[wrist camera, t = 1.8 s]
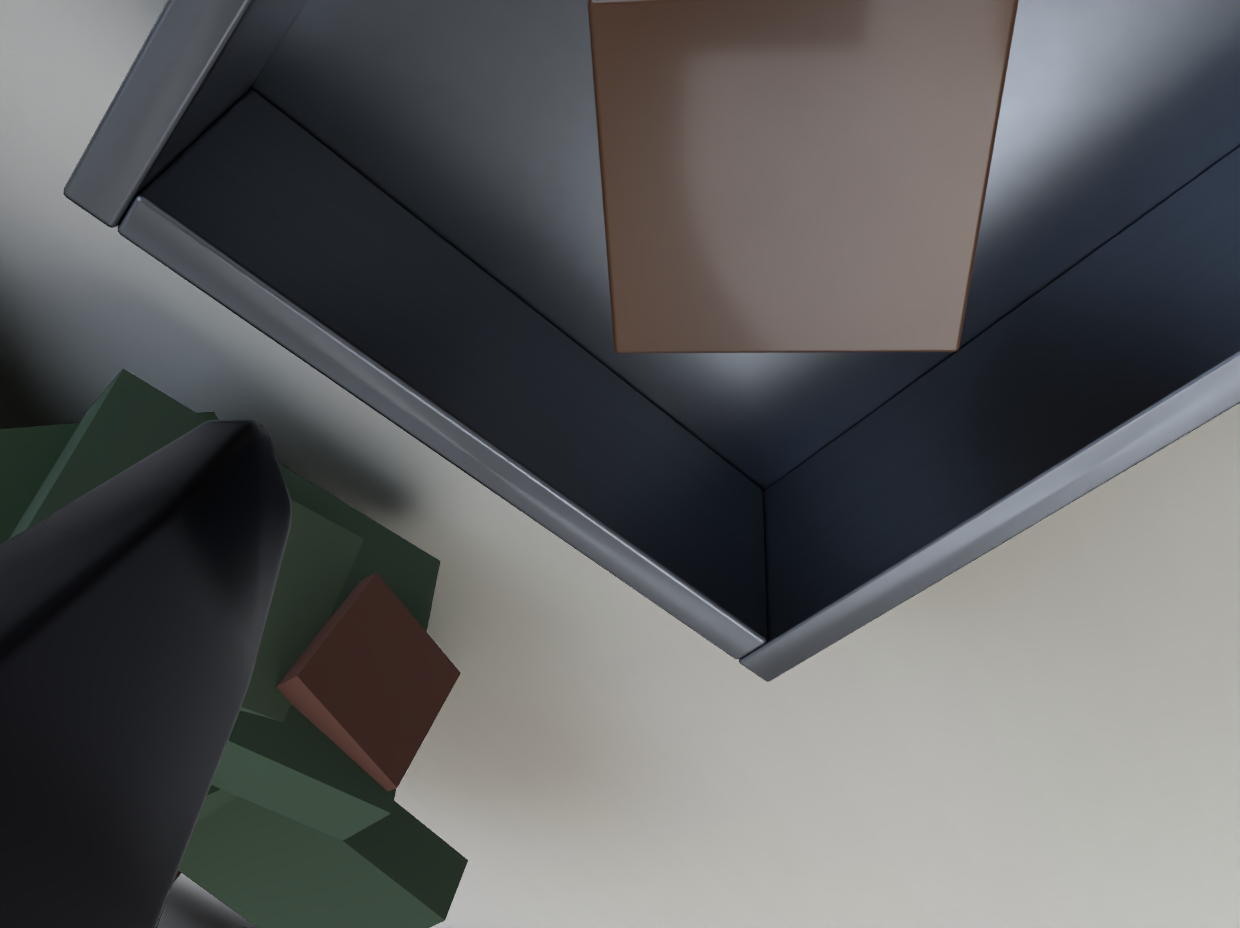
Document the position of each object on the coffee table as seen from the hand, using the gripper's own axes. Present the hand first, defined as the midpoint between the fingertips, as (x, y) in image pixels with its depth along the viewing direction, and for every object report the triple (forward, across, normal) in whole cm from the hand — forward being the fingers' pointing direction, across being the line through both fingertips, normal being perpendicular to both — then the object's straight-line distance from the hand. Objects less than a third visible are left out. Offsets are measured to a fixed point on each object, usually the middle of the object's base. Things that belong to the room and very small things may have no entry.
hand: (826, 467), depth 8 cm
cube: (+9, 0, 0) cm, 9 cm away
